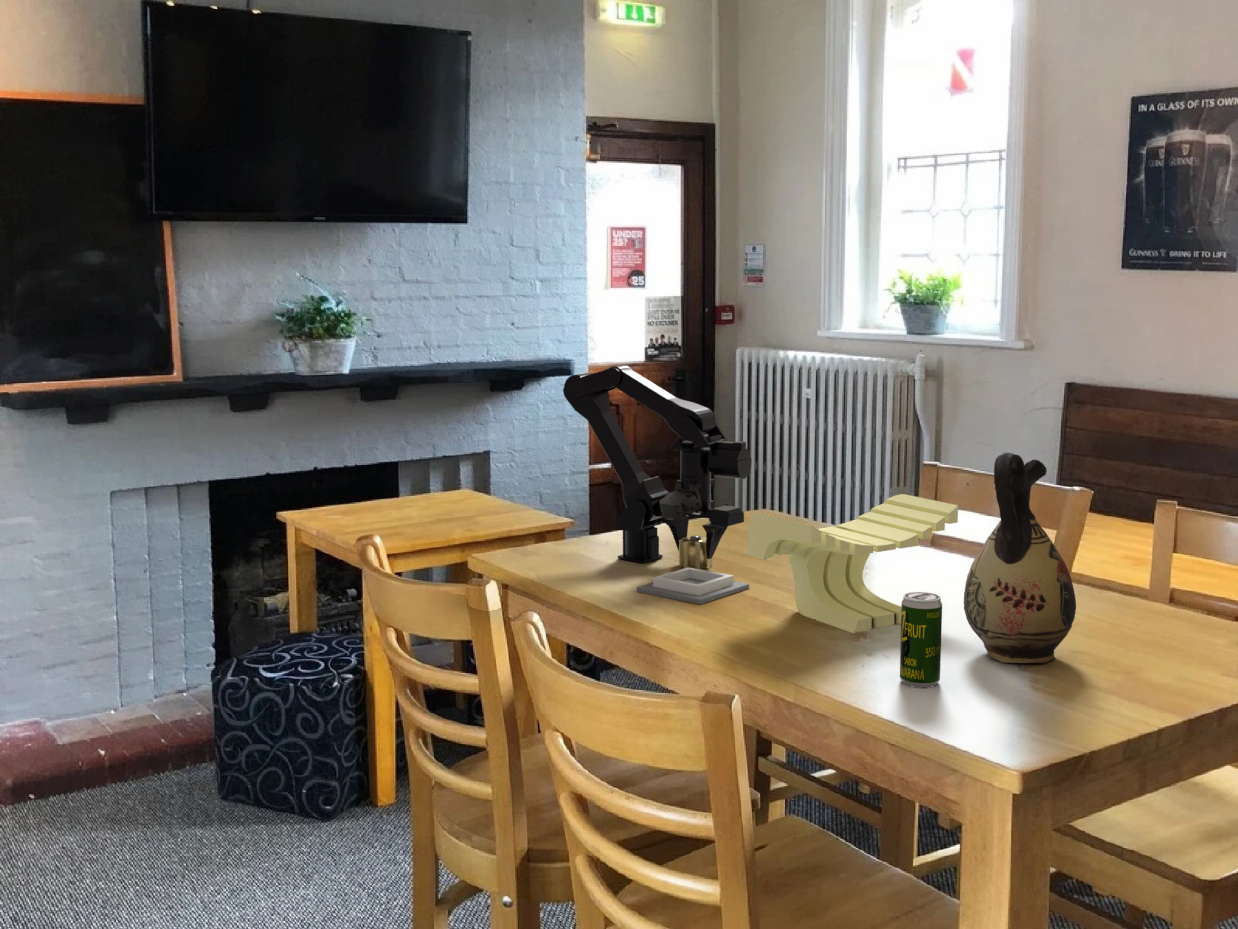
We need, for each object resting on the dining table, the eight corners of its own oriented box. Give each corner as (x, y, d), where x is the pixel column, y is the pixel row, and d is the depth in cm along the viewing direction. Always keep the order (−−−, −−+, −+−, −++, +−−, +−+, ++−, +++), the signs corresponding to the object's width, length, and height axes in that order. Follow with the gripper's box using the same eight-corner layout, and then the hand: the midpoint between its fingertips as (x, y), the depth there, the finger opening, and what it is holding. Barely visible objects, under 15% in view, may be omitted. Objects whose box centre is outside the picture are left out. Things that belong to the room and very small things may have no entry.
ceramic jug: (988, 635, 200) (995, 440, 195) (1089, 653, 190) (1098, 449, 186) (938, 661, 187) (944, 454, 182) (1044, 682, 177) (1053, 463, 173)
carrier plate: (636, 591, 228) (636, 578, 228) (686, 576, 239) (686, 563, 238) (700, 604, 219) (700, 590, 219) (749, 588, 230) (749, 575, 229)
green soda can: (911, 673, 181) (913, 589, 180) (947, 681, 178) (949, 595, 176) (892, 683, 177) (894, 597, 175) (928, 691, 174) (931, 603, 172)
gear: (672, 566, 247) (672, 537, 246) (692, 560, 252) (692, 532, 251) (698, 571, 243) (698, 541, 242) (718, 565, 248) (718, 536, 247)
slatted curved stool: (887, 592, 226) (889, 491, 223) (954, 613, 212) (958, 505, 210) (747, 617, 211) (747, 509, 208) (809, 641, 197) (811, 525, 195)
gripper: (629, 475, 245) (630, 556, 247) (709, 485, 232) (709, 571, 235) (667, 468, 253) (667, 547, 255) (746, 477, 241) (745, 560, 243)
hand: (695, 556), depth 247 cm, fingers closed on gear, 6 cm apart
